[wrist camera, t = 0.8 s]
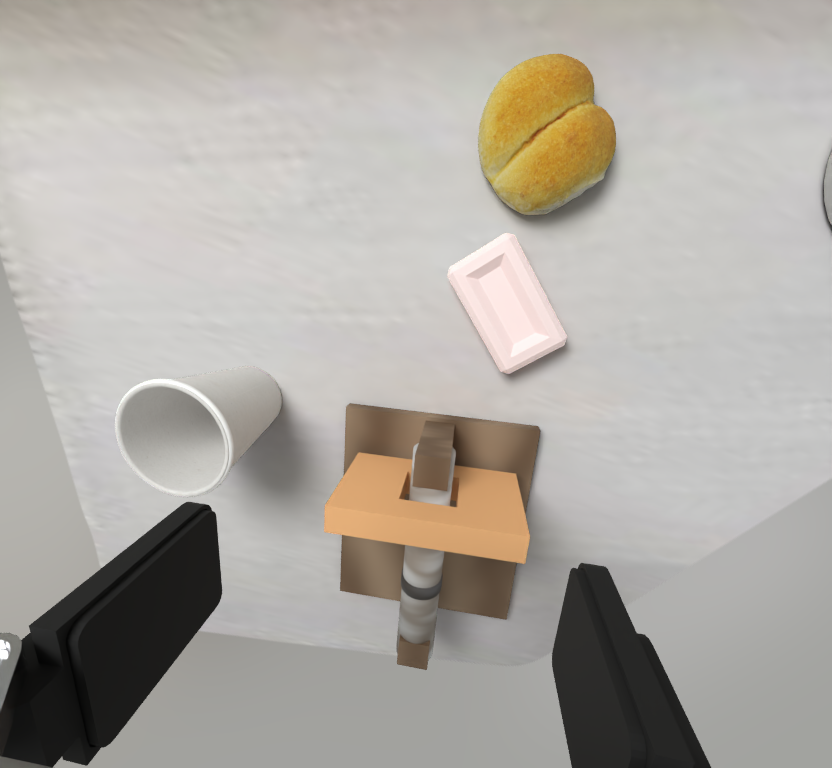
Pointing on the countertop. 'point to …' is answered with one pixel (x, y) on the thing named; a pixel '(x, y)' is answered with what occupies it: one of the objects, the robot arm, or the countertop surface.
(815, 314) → the countertop surface
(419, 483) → the pipe stand
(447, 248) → the countertop surface
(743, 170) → the countertop surface
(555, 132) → the bread roll
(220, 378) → the dixie cup
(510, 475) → the collar
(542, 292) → the soap bar
